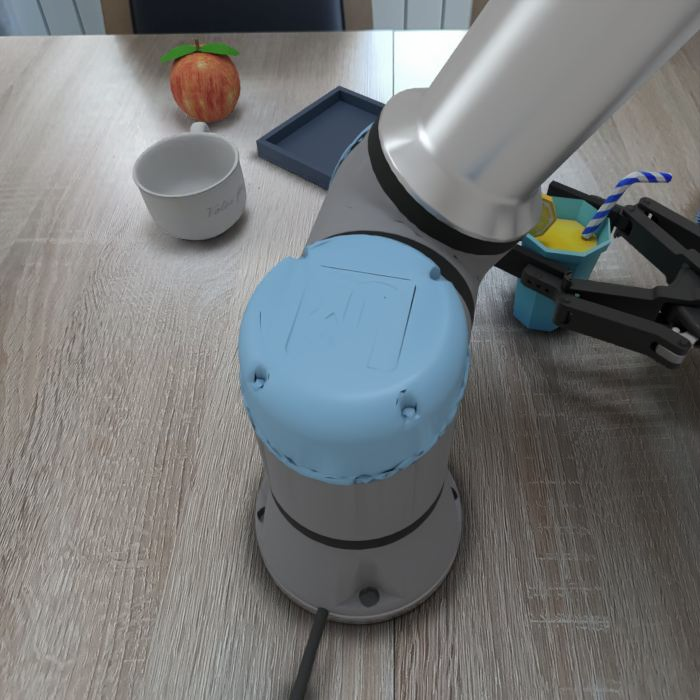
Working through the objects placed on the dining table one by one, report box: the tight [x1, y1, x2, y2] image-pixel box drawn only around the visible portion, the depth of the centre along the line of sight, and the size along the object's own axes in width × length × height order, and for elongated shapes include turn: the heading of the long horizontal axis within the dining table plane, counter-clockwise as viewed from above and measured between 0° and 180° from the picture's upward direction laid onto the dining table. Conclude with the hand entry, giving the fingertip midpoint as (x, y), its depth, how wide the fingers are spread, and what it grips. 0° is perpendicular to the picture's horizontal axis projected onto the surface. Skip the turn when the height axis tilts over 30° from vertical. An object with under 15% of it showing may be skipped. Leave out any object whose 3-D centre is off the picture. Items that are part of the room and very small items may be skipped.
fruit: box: [159, 37, 242, 124], centre depth 81 cm, size 9×10×10 cm
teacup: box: [131, 121, 247, 241], centre depth 70 cm, size 14×11×8 cm
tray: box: [255, 85, 386, 191], centre depth 79 cm, size 16×18×2 cm
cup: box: [512, 170, 673, 333], centre depth 57 cm, size 14×8×15 cm, turn 100°
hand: (522, 221), depth 58 cm, fingers open, 9 cm apart
